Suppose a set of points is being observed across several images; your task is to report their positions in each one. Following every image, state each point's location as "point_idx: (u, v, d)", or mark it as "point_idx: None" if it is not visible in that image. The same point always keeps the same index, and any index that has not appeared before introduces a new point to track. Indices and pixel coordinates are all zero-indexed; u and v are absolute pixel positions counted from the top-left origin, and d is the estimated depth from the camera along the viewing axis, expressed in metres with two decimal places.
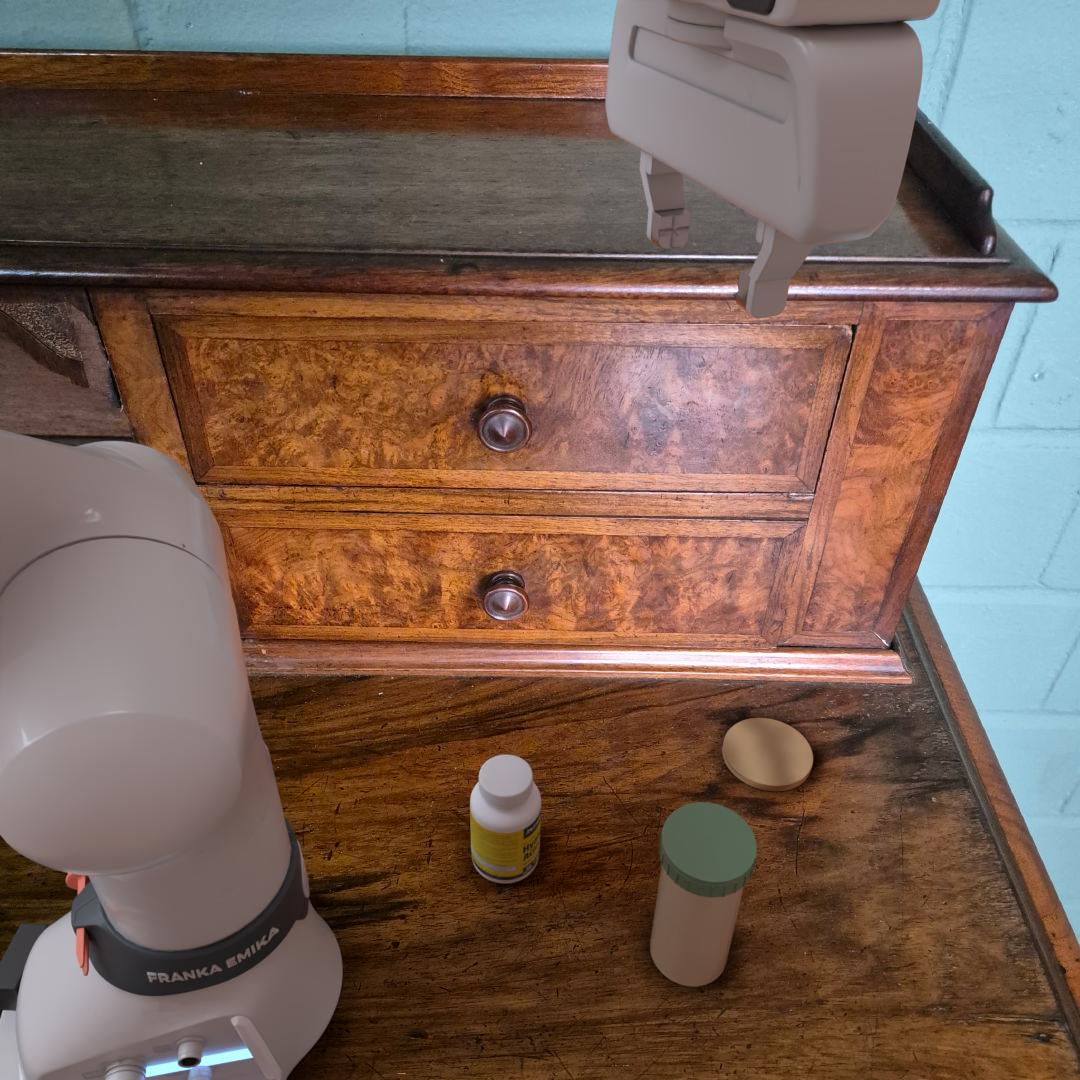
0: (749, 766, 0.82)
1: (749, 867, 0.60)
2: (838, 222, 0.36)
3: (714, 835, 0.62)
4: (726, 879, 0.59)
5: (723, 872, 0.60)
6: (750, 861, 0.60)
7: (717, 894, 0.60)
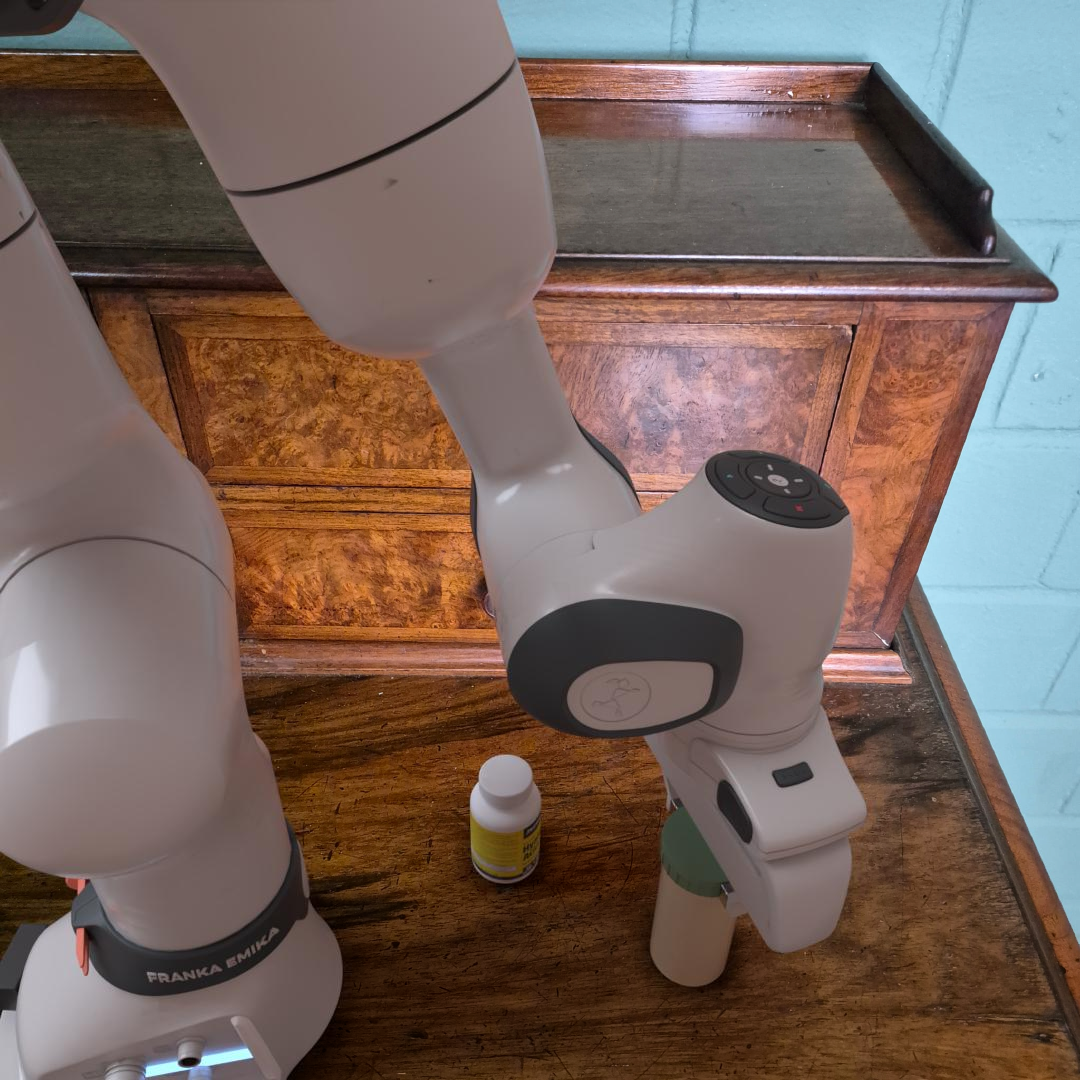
0: None
1: None
2: (795, 948, 0.51)
3: None
4: (727, 879, 0.59)
5: (723, 872, 0.60)
6: None
7: (717, 894, 0.60)
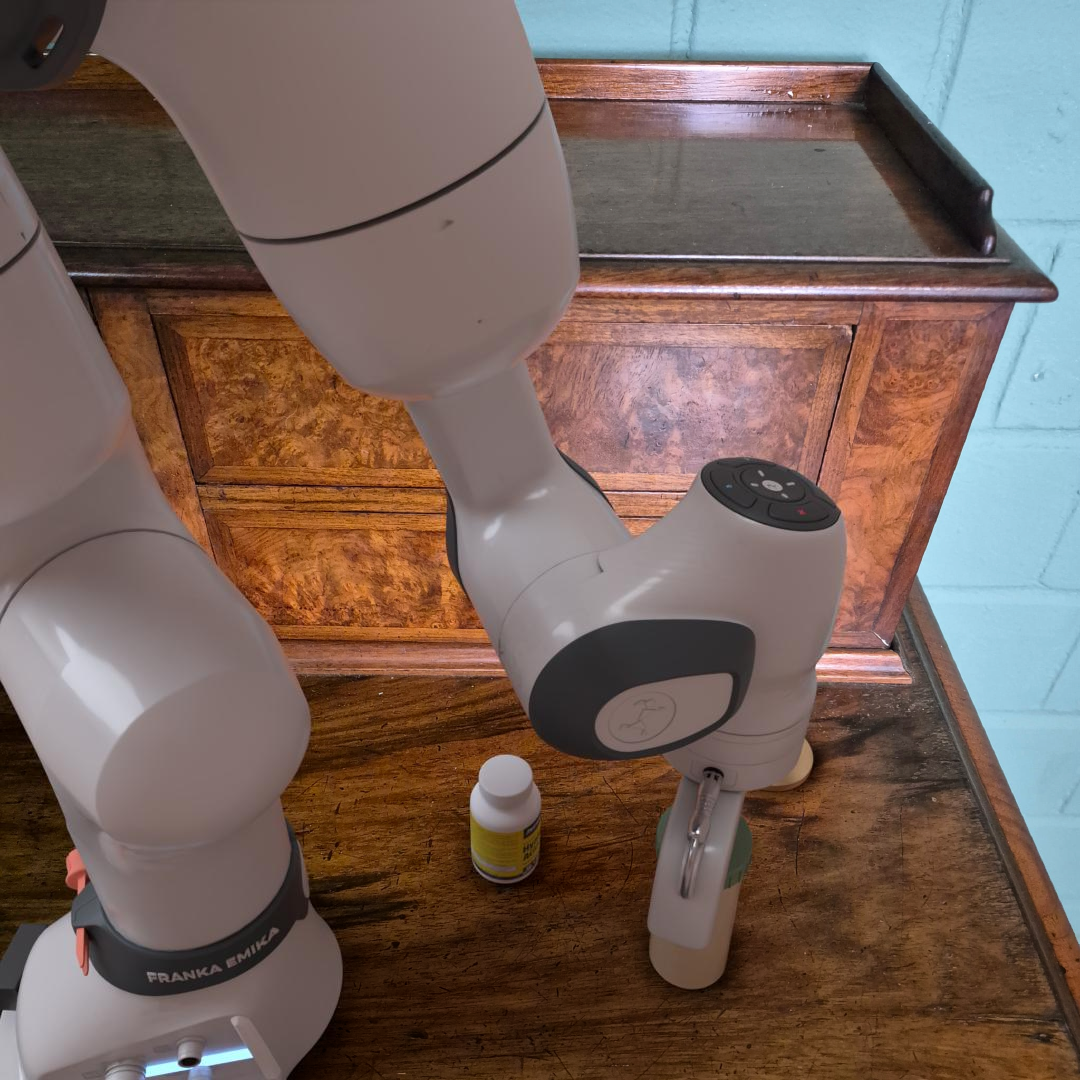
0: None
1: (667, 810, 0.63)
2: None
3: None
4: None
5: None
6: (665, 814, 0.63)
7: None
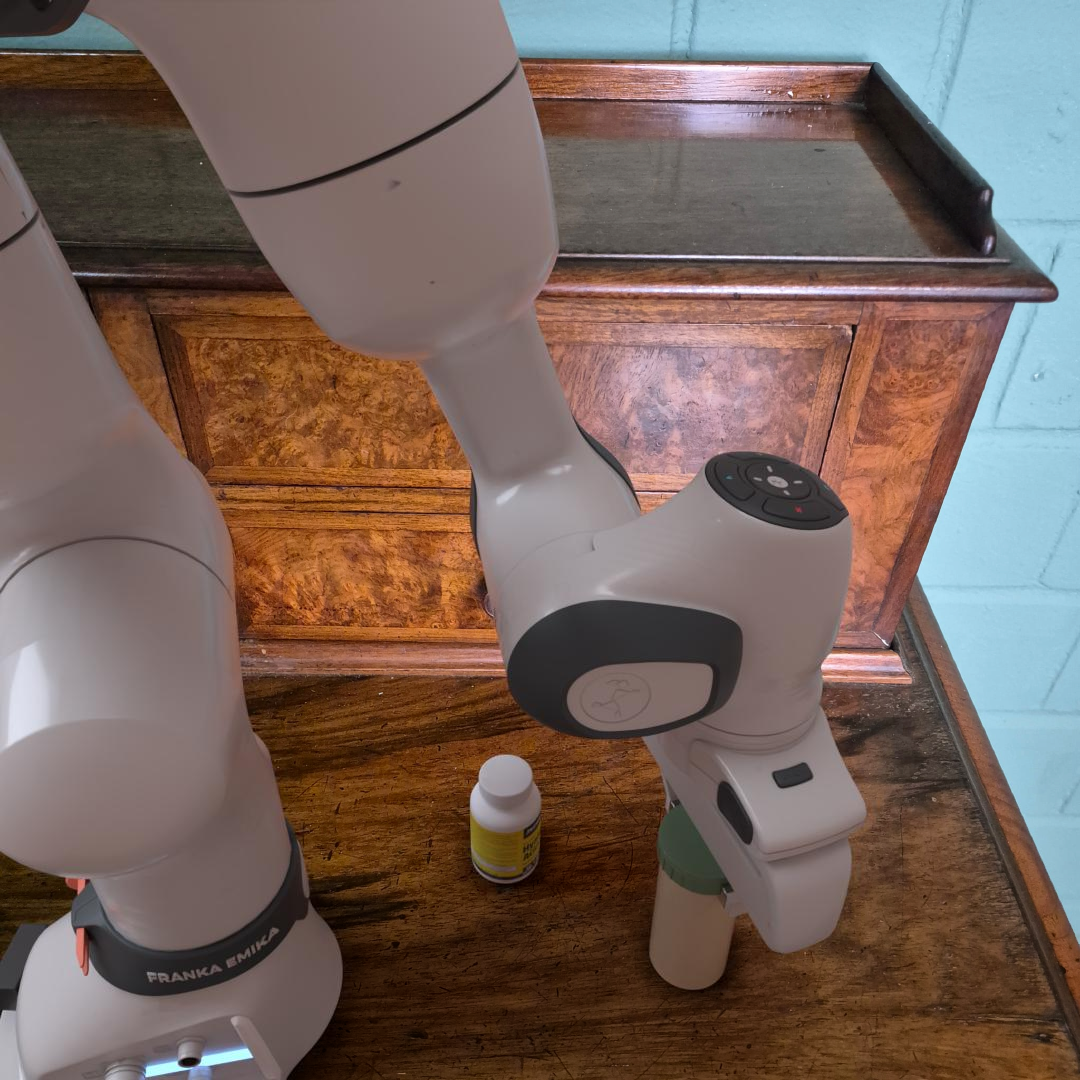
0: None
1: (670, 811, 0.63)
2: (796, 948, 0.52)
3: (700, 841, 0.61)
4: None
5: None
6: (668, 815, 0.63)
7: None
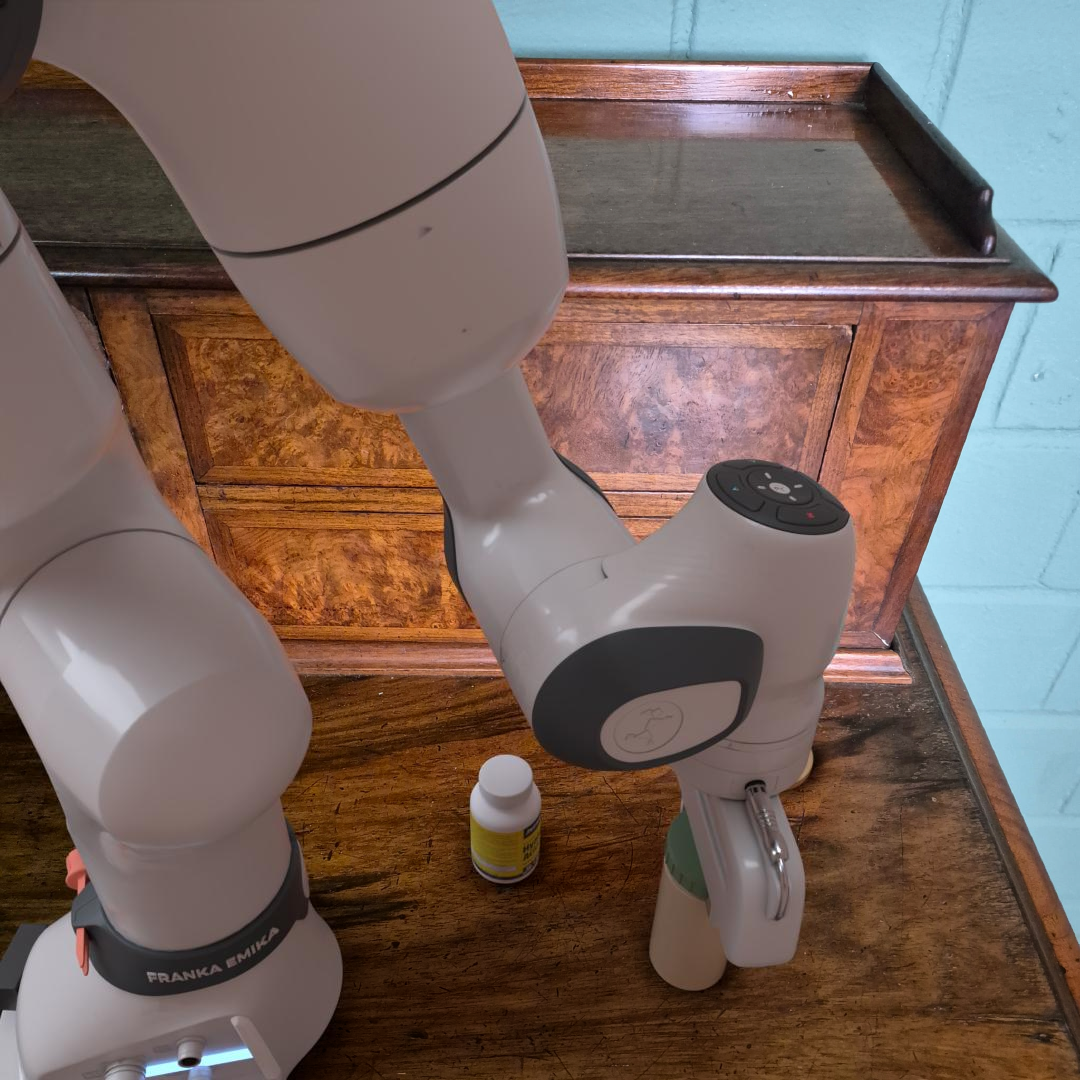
0: None
1: None
2: None
3: None
4: None
5: None
6: None
7: None
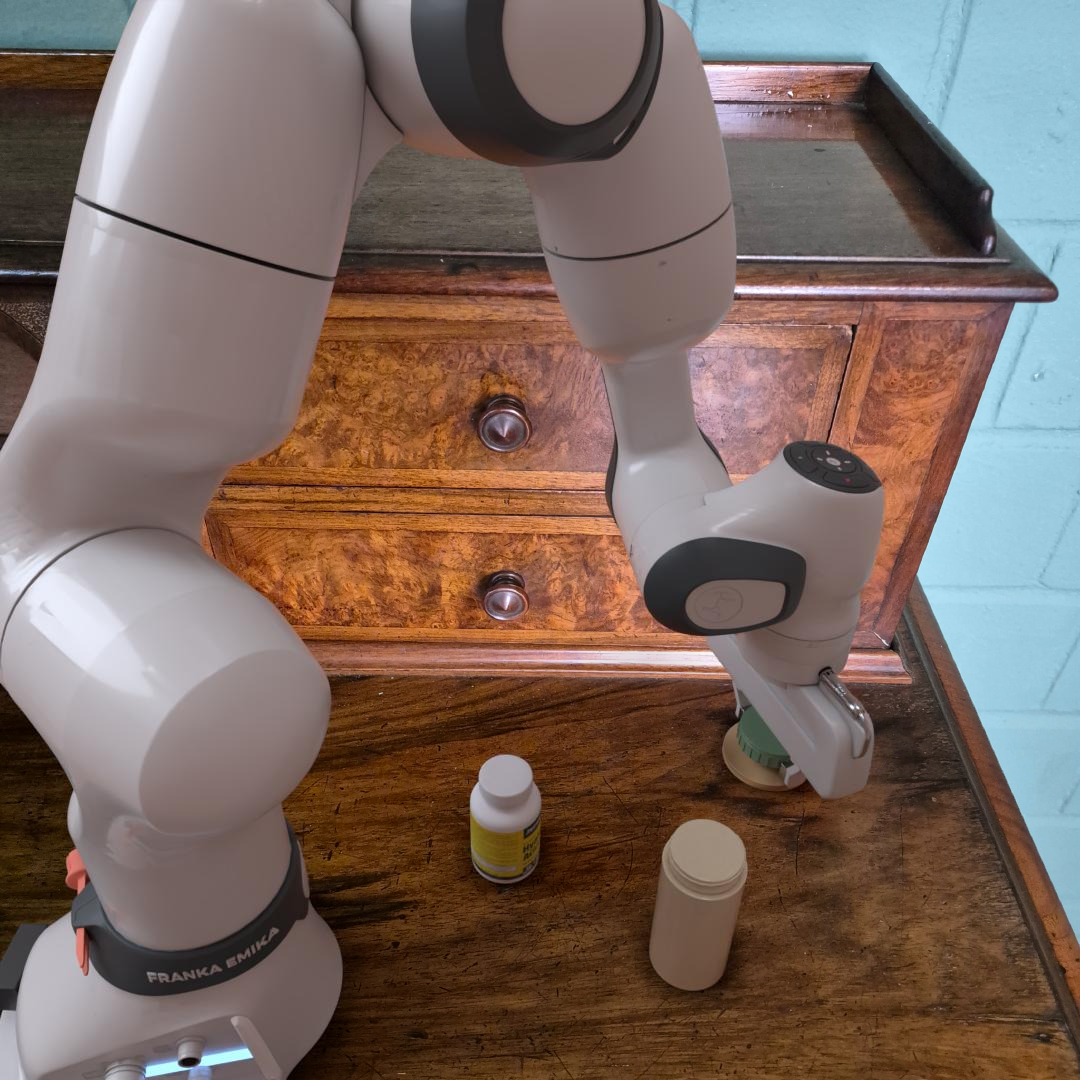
0: (749, 766, 0.82)
1: None
2: None
3: None
4: None
5: None
6: None
7: None
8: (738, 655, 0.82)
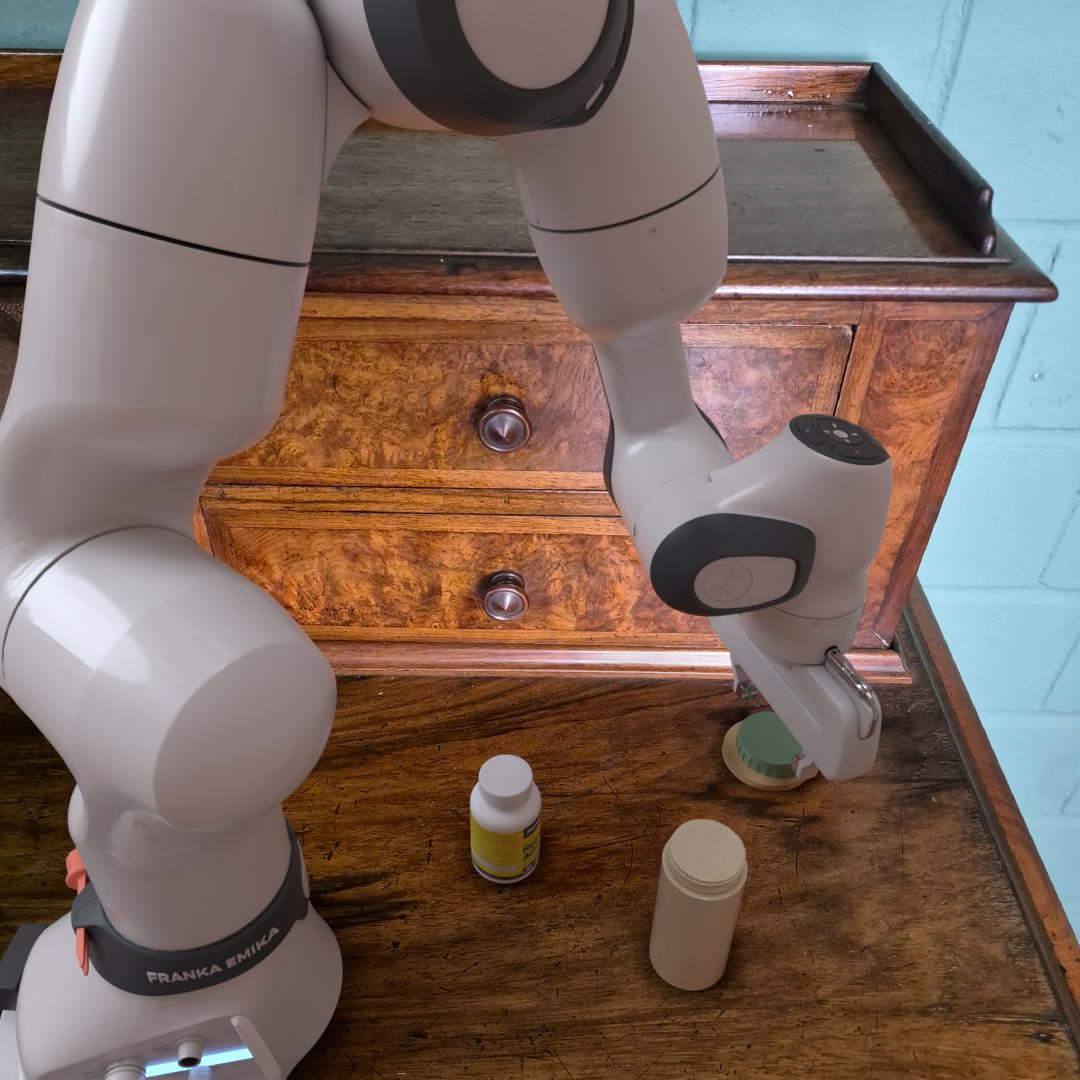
0: None
1: None
2: None
3: (778, 734, 0.83)
4: (787, 762, 0.80)
5: (785, 758, 0.81)
6: None
7: (780, 775, 0.81)
8: (742, 637, 0.80)
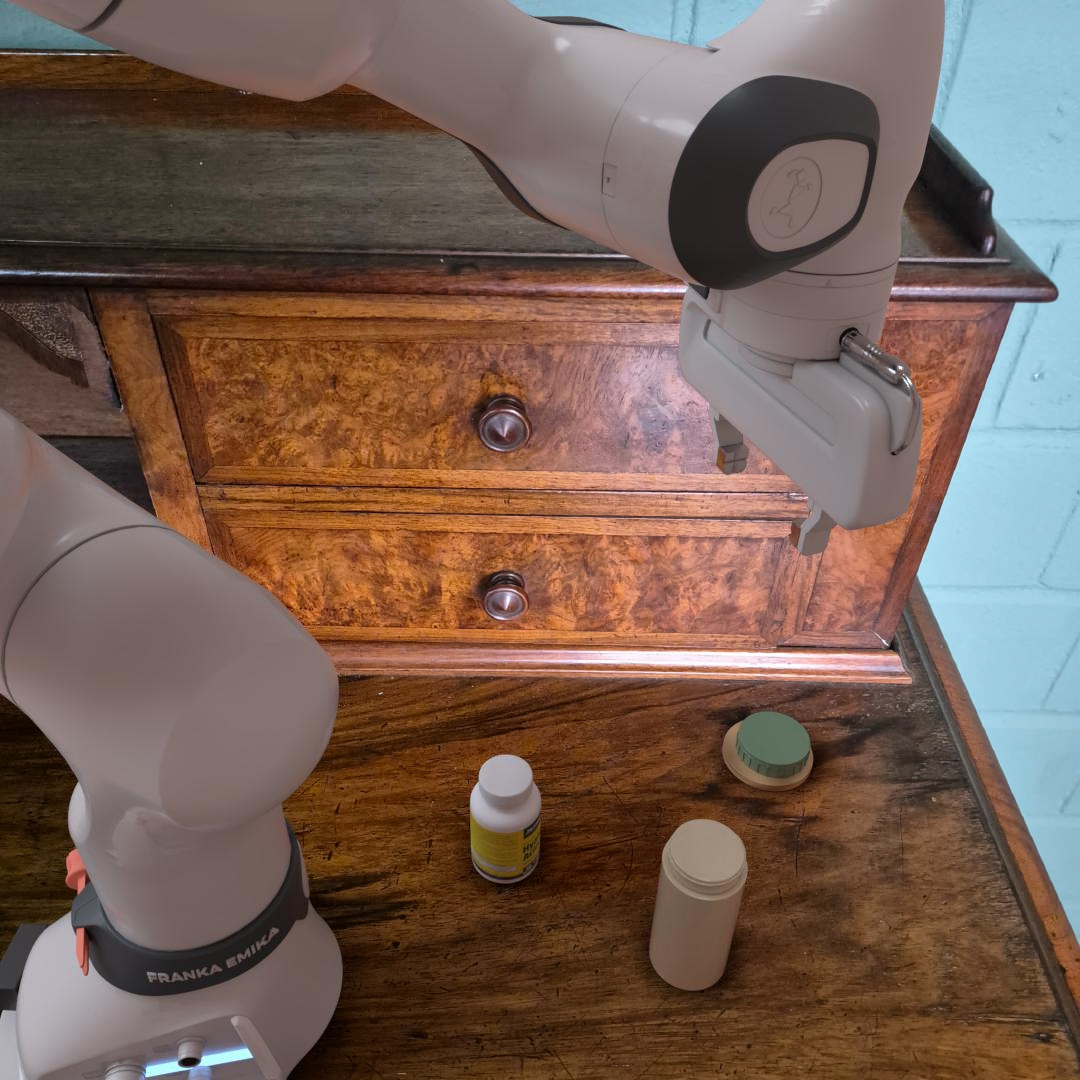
0: None
1: (804, 756, 0.81)
2: None
3: (778, 734, 0.83)
4: (787, 762, 0.80)
5: (785, 758, 0.81)
6: (805, 752, 0.81)
7: (780, 775, 0.81)
8: (723, 367, 0.58)
